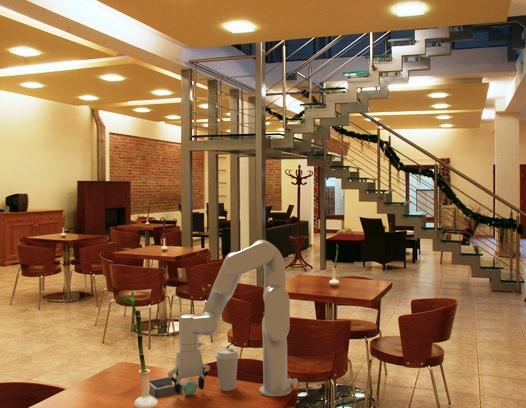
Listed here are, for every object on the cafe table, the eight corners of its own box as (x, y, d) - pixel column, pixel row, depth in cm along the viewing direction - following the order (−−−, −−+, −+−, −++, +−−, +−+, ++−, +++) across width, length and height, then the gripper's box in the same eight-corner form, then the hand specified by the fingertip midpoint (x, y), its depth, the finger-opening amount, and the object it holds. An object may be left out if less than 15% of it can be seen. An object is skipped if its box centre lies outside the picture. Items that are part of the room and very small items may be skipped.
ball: (193, 392, 214) (192, 379, 214) (198, 395, 210) (198, 382, 210) (181, 394, 212) (181, 381, 212) (186, 398, 207) (186, 385, 207)
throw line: (166, 385, 223) (166, 385, 223) (175, 392, 214) (175, 392, 214) (164, 385, 222) (164, 385, 222) (173, 392, 214) (173, 392, 214)
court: (171, 383, 225) (170, 376, 225) (182, 391, 214) (182, 384, 214) (145, 388, 219) (145, 380, 219) (155, 397, 209) (155, 389, 209)
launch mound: (199, 405, 232) (198, 372, 232) (213, 416, 220) (213, 381, 220) (168, 412, 225) (167, 378, 225) (181, 423, 213) (180, 387, 213)
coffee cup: (238, 392, 213) (238, 353, 213) (214, 392, 213) (214, 354, 213) (239, 384, 223) (239, 347, 223) (216, 384, 223) (216, 348, 223)
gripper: (205, 341, 218) (205, 384, 218) (164, 348, 210) (164, 392, 209) (213, 345, 212) (213, 389, 212) (171, 352, 203) (172, 398, 203)
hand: (189, 391), depth 211 cm, fingers open, 9 cm apart
